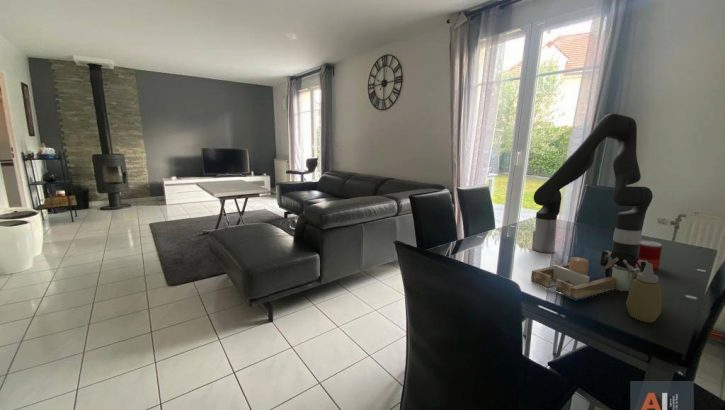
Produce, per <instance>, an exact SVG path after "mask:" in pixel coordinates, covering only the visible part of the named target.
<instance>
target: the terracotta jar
mask: <svg viewBox="0 0 725 410" xmlns="http://www.w3.org/2000/svg"><path fill="white" fill-rule="evenodd" d="M589 262H590V261H589V259H587V258H584V257H578V256H572V257H569V270H572V271H575V272H577V273H580V274H583V275H586V276H588V273H589V264H590V263H589Z"/></svg>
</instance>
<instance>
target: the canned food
mask: <svg viewBox="0 0 725 410" xmlns="http://www.w3.org/2000/svg"><path fill="white" fill-rule="evenodd" d="M662 248H663V244H662V243H661V242H657V241H652V240H646V239H645V240H644V239H641V242H640V250H639V255H638V258H639V260H643V261H646V260H647V261H649V263H651V264H652V266H653V271H655V270H658V269H659V267H660V261H661V255H662ZM636 265H637V266H638V268H639V269H641V266H640V265H639V263H637V264H636Z"/></svg>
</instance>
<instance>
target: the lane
mask: <svg viewBox="0 0 725 410" xmlns="http://www.w3.org/2000/svg"><path fill="white" fill-rule="evenodd" d="M569 262H570V261H569ZM569 262H564V263H559V264H557V265H558V266H561V267H564V268H566V269H569ZM553 271H554V265H552V266H551V265H550V266H547V267H542V268H538V269H533V270H531V277H530V278H531V279H530V281H531V282H532V283H534V284H537V285H538V284H539V286H541V285H542V286H541V287H543V286H544V287H543V288H545V286H549V285H551V281H552V280H554V279H553ZM555 281H556V280H555ZM615 283H616V278H613V277H607V278H606V277H603V278H599V279H597V280H592V281H589V282H588V283H584V284H581V285H577V286H573V285H571V284H569V283H567V282H564V281H562V280H559V279H558V280H557V281H556V283H555V284H556V287H555V292H556V291H558V292H561V293H563V294H566V295H568V296H571V297H574V298H576V299H577V298H583V297H587V296H590V295H594V294H597V293H601V292H603V291H608V290H611V289H615Z"/></svg>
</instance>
